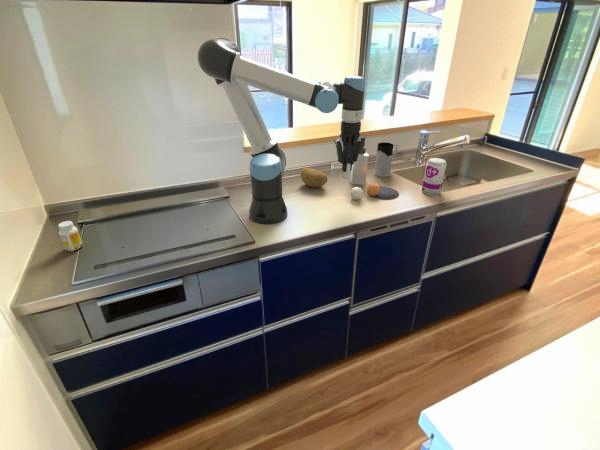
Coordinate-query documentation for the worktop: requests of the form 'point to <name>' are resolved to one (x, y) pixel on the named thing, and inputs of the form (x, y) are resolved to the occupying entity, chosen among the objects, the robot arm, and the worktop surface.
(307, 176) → the potato
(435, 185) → the supplement can
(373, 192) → the object ball
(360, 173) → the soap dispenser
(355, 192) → the cue ball
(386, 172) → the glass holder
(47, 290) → the worktop surface
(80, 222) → the worktop surface
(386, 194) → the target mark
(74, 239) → the supplement bottle
